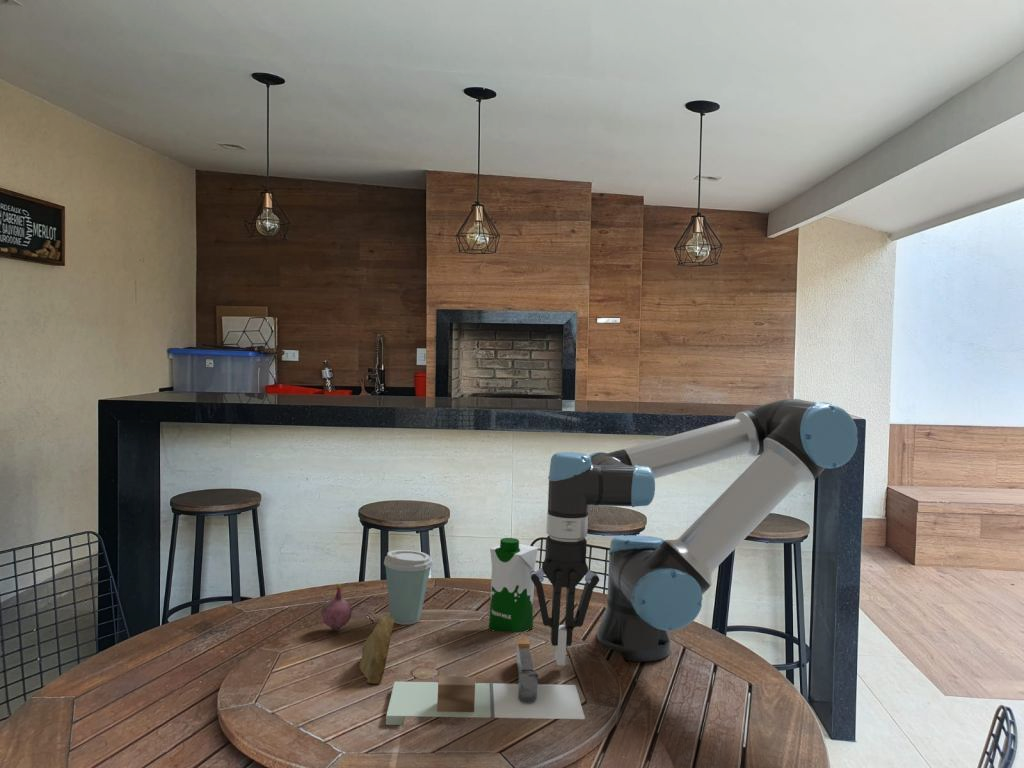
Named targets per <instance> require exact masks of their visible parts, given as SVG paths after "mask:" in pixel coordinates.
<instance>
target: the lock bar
mask: <svg viewBox="0 0 1024 768" xmlns="http://www.w3.org/2000/svg"><path fill="white" fill-rule="evenodd" d="M516 639H517V640H516V641H517V644H516V645H517V646H516V664H517V665H516V666H517V673H518V684H519V685H518V699H519V700H520V701H522V702H534V701H536V700H537V684H539V683H538V679H539V678H538V677H539V675H538V673H537V672H536V671H534V666H533V660H532V655H531V654H532V653H531V649H530V648H531V641H530V637H524V636H523V637H517V638H516Z"/></svg>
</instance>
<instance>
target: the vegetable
mask: <svg viewBox="0 0 1024 768" xmlns="http://www.w3.org/2000/svg"><path fill="white" fill-rule="evenodd" d="M336 585H337V586H336V587H337V588H336V593H335V594H336V595H335V597H334V598H333V599H330V600H329V601H327V602H326V604H324V605H323V607H322V608H321V612H320V613H321V614H320V615H321V620H322V622H323V623H324V624H325V626H327V627H329V628H331V629H332V630H333V631H338V630H340V628H342V627H344V626H346V625H347V624H348V623H349V621H350V619H351V617H352V613H353V611H352V610H353V609H352V607H351V605H350V604H349V602H347V601H346V600H345V599H343V598H342V586H341V583H340V582H337V584H336Z"/></svg>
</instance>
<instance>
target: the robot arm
mask: <svg viewBox="0 0 1024 768" xmlns="http://www.w3.org/2000/svg"><path fill="white" fill-rule="evenodd" d="M858 441H859V439H858V428H857V425H856V422H855V421H854V419H853V417H852V415H850V413H849V412H847V411H846V410H845V409H843V408H841V407H839V406H838V405H835V404H831V403H830V402H826V401H825V402H824V401H819V402H815V401H809V400H803V399H798V398H786V399H785V398H784V399H781V400H776V401H772V402H769V403H766V404H763V405H759V406H756V407H753V408H750V409H747V410H746V409H745V410H742V411H738V412H737V413H736V415H735V417H734V418H732V419H728V420H727V419H726V420H724V421H721V422H717V423H713V424H710V425H706V426H703V427H699V428H696V429H692V430H687V431H685V432H684V431H683V432H680V433H677V434H673V435H668V436H667V437H662V438H659V439H655V440H652V441H648V442H645V443H640V444H637V445H634V446H630V447H626V448H623V449H620V450H618V449H617V450H615V451H610V452H603V451H598V452H596V451H595V452H593V453H591V454H587V453H582V452H574V451H573V452H572V451H561V452H556V453H554V454H553V455H552V456H551V458H550V465H549V474H548V478H547V479H548V491H547V492H548V493H547V494H548V496H547V497H548V498H547V512H546V513H547V514H546V518H547V519H546V530H545V531H546V534H547V537H546V538H545V553H544V554H545V555H544V556H545V557H544V560H543V562H542V564H541V567H540V568H539V569H537V570H534V571H531V573H530V576H531V580H532V581H533V583H534V587H535V591H536V595H537V600H538V606H539V610H540V615H541V620H542V624H543V626H545V627H547V626H548V627H550V628H551V629H550V632H551V633H550V642H551V646H554V647H555V662H556V663H555V664H556V665H557V666H566V653H567V652H566V650H567V647H570V646H572V644H573V631H574V629H575V628H577V627H579V628H580V627H582V626H583V625H584V621H585V620H586V615H587V612H588V608H589V604H590V602H591V598H592V595H593V592H594V589H595V587H596V586H597V585H598V584H599V582H600V577H599V575H598V574H597V573H596V572H593V571H591V570H590V569H589V566H588V564H587V545H588V543H587V542H588V540H587V539H586V537H587V536H588V518H589V509H590V508H589V507H590V506H602V507H603V506H604V507H605V506H606V507H607V506H608V507H632V508H635V507H646V506H649V505H650V504H651V503H652V502H653V500H654V498H655V494H656V493H655V491H656V480H655V479H658V478H662V477H666V476H669V475H672V474H677V473H681V472H684V471H688V470H691V469H694V468H698V467H702V466H705V465H709V464H713V463H717V462H720V461H723V460H724V461H725V460H727V459H732V458H734V457H738V456H742V455H747V456H749V457H757V458H756V459H755V460H754V461H753V462H751V463H750V465H749V466H748V467H747V468H746V469H745V470H744V471H743V472H742V473H741V474H740V475H739V476H738V477H737V478H736V479H735V480H734V481H733V482H732V483H731V484H730V486H728V487H727V488H726V489H725V491H723V492H722V494H721V495H720V496H719V497H718V498H716V500H714V502H712V504H710V506H709V507H708V508H707V509H706V510H705V511H704V512H702V514H701V515H700V516H699V517H698V518H697V519H696V520H695V521H694V522H693V523H692V524H691V525H690V526H689V527H688V528H687V529H686V530H685V532H683V533H682V534H681V535H680V536H679V538H676V539H664V538H662V537H657V536H649V535H636V534H635V535H634V534H633V535H631V534H630V535H629V534H628V535H618V536H615V537H613V538H612V539H611V540H610V544H609V550H608V555H609V557H608V576H607V579H608V581H607V600H606V601H607V602H606V603H607V604H606V610H605V611H604V614H603V616H602V619H601V622H600V624H599V626H598V628H597V629H598V630H597V632H596V639H597V641H598V643H600V644H601V645H602V646H603V647H605V648H607V649H609V650H612V651H615V652H617V653H620V655H621V657H622V659H623V660H625V661H631V662H644V663H645V662H654V661H659V660H663V659H664V658H667V657H668V656H669V655H670V653H671V648H672V646H671V645H672V644H671V643H672V641H671V640H672V639H671V636H670V632H669V631H678V630H680V629H683V628H686V627H687V626H688V625H690V624H691V623H693V622H694V621H695V620H696V618H697V617H698V616H699V614H700V612H701V610H702V605H703V604H702V603H703V595H704V594H705V593H706V592H707V591H708V589H710V587H711V586H712V585H713V584H712V574H713V572H714V571H715V570H716V569H717V568H718V567H719V566H720V565H721V563H723V562H724V561H725V560H726V558H727V557H729V555H731V554H732V552H733V551H735V550H736V549H737V547H738V546H739V545H740V544H741V543H742V542H743V541H744V540H745V539H746V538H747V537H748V536H749V535H750V534H751V533H752V532H753V531H754V530H755V529H756V527H757V528H758V526H759V525H760V524H761V523H762V522H763V520H765V519H766V518H767V517H768V516H769V514H771V512H772V511H774V510H775V508H777V506H778V505H779V504H780V503H781V502H782V501H783V500H784V499H785V498H786V497H788V495H789V494H790V493H791V492H792V491H793V490H794V489H795V488H796V487H797V485H799V484H801V483H802V484H803V483H804V484H805V483H812V482H814V480H816V479H817V478H818V477H819V475H821V474H822V472H823V471H824V470H825V469H835V468H839V467H843V466H844V465H845V464H847V463H848V462H849V461H850V460H851V459H852V457H853V456H854V454H855V452H856V450H857V447H858ZM544 575H545V576H546V578H547V580H548V581H549V582H550V583H551V585H552V601H551V602H552V603H551V616H549V611H548V608H547V601H546V597H545V593H544V592H545V591H544V587H543V582H544ZM583 578H584V580H585V582H584V583H585V584H584V586H583V589H582V593H581V596H580V599H579V603H578V607H577V609H576V613H575V597H576V587H577V586H578V585H579V583H580V582H581V581H582V580H583ZM562 588H566V594H565V595H566V597H565V598H566V600H565V617H564V619H565V620H564V623H565V624H560V620H561V619H560V615H561V602H562V601H561V600H562V599H561V597H562ZM574 613H575V614H574Z"/></svg>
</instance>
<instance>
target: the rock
mask: <svg viewBox="0 0 1024 768" xmlns="http://www.w3.org/2000/svg"><path fill="white" fill-rule="evenodd" d="M394 624H395V623H394V620H393V619H392V618H391V617H390V615H388V614H384V615H383V616H382V617H381V618H379V621H378V622H377V624H375V626H374V629H372V632H371V633H370V634H369V636H368V637H367V638H366V640H365V642H364V644H363V646H362V650H361V651H362V652H361V653H362V655H361V658H360V663H359V665H358V667H359V670H360V671H361V673H363V676H364V677H365V678H366V682H367V683H368V684H377V685H378V684H381V683H382V681H383V675H384V673H385V669H386V664H387V663H386V661H387V658H388V655H389V650H390V644H391V637H392V632H393V627H394Z"/></svg>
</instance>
